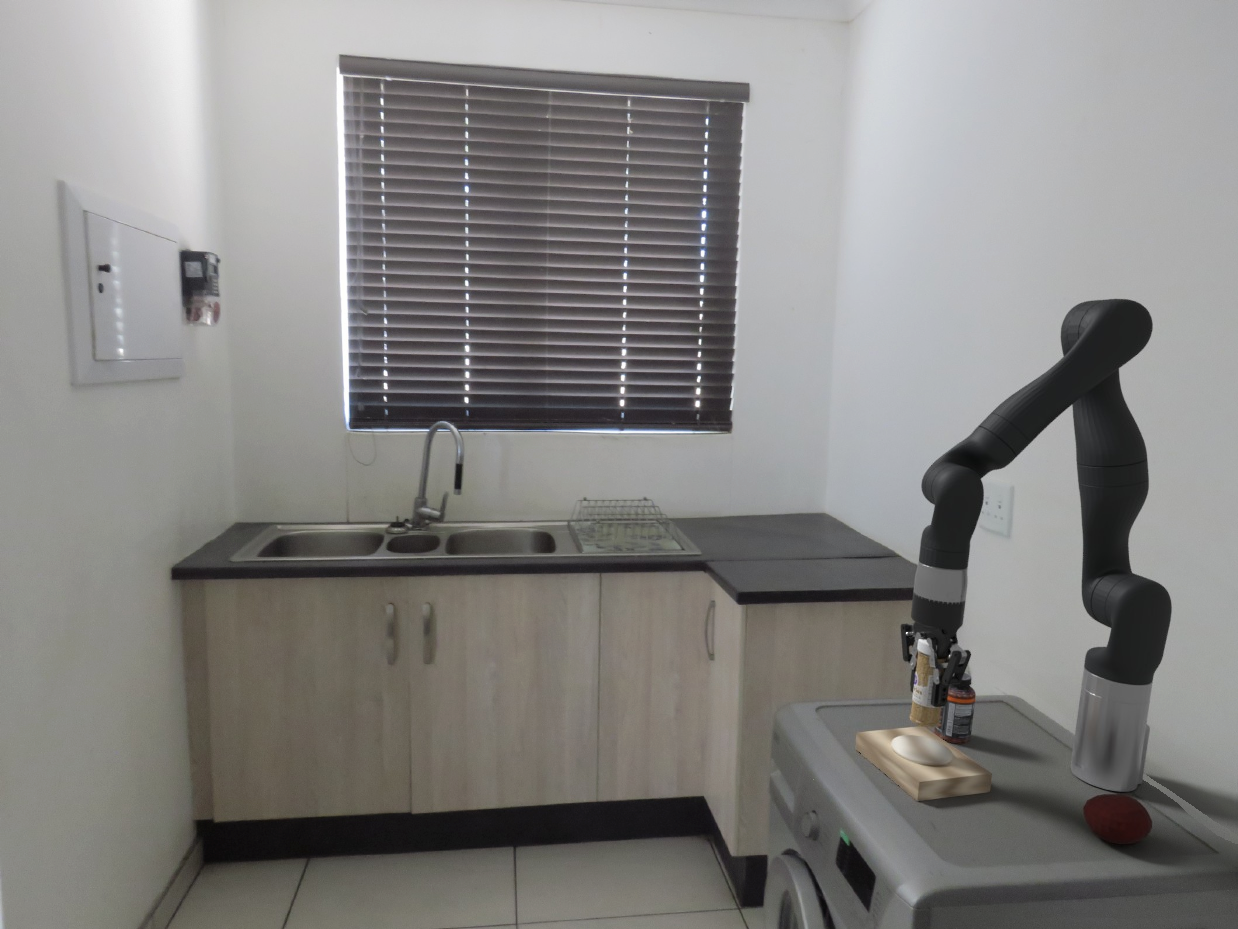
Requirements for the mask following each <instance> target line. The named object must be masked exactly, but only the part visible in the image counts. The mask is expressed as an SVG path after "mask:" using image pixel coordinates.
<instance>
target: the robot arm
mask: <svg viewBox="0 0 1238 929" xmlns="http://www.w3.org/2000/svg"><path fill="white" fill-rule="evenodd" d="M1153 329H1154V328H1153V318H1152V316H1151V313H1150V312H1149V310H1148V309H1147V308H1146V307H1145V306H1144V305H1143V304H1141V303H1140V302H1138V301H1135V300H1132V299H1128V298H1127V299H1126V298H1108V299H1097V300H1095V299H1094V300H1087V301H1083V302H1080V303H1078V304H1076V305H1074V306H1073V307H1072V308H1070V310H1069V311H1068V312H1067V313H1066V315H1065V317H1064V319H1063V320H1062V323H1061V327H1060V344H1061V345H1060V346H1061V350H1062V355H1063V357H1061V359H1060V360H1058V361H1057V362H1056V363H1055V364H1054V365H1052V367H1050V368H1049V369H1048V370H1047V371H1045V372H1044V373H1043V374H1041V375H1039V376H1038V377H1037V378H1035V379H1034V380H1032V381H1031V382H1029V383H1028V384H1026V385H1025V386H1023V387H1022V388H1020V389H1019V390H1017V391H1015V393H1013V394H1011V395H1010V396H1008V398H1006V399H1004V401H1002V402H1001V403H1000V404H999V405H998V406H997V407H995V409H993V411H992V412H990V414H988V416H986V418H985V419H984V420H983V421H982V422H980V423H979V425H978V426H976V428H974V430H973V432H971V434H969V435H968V436H967V437H966V438H964V439H963V440H961V441H960V442H958V443H957V444H955V445H954V446H952V447H951V449H949V450H947V451H946V452H945V453H943V454H942V455H941V456H940V457H938V458H937V459H936V460H935V461H934V462H932V463H931V465H930V466H929V467H928V469H927V470H926V471H925V473H924V474H923V476H922V478H921V479H922V480H921V492H922V494H923V496H924V498H925V499H926V500H927V501H928V502H929V503H930V504H932V505H933V506H934V508H933V512H932V517H931V518H932V519H931V522H930V524H929V525H927V526H925V528H924V529H923V531H922V533H921V538H920V547H919V555H918V562H917V567H916V571H915V574H914V583H913V591H912V592H913V593H912V599H911V600H912V602H911V610H910V617H911V619H912V621H913V623H911V622H910V623H901V624H900V637H901V649H902V659H903V661H904V662H905V663H907V662H908V664H909V665H908V666H909V669H910V670H911V675H910V680H909V681H910V682H909V686H910V689H909V690H910V692H911V693H912V694H913V689H914V681H915V672H916V668H917V659H918V649H917V646H918V640H919V639H927V643H928V644H929V648H930V649H931V653H932V655H931V656H929V661H930V667H931V668H933V676H934V683H933V688H932V697H931V705H932V706H934V707H944V706H945V704H946V703H947V699H948V690H949V685H950V684H960V683H961V680H962V678H963V675H964V673H966V670H967V667H968V665H969V662H970V660H971V657H972V653H971V650H969V649H963V648H962V647H961V646H960V645H959V644H958V643H959V640H958V634H957V632H958V630H959V629H960V628H962V627H963V624H964V618H965V616H964V615H965V610H966V601H967V593H968V591H967V590H968V584H969V582H968V580H969V579H968V577H969V576H968V571H969V570H968V569H969V568H968V567H969V561H970V551H971V540H972V538H973V535H974V533H975V531H976V528H977V525H978V522H979V520H980V516H981V512H982V508H983V505H984V497H985V491H984V490H985V488H984V483H983V481H982V479H983V478H984V477H985V476H987V475H988V474H989V473H990V472H992V471H997V470H1001V469H1003V468H1006V467H1008V466H1009V465H1010V464H1011V463H1012V462H1013V461H1014V460H1015V459H1016V458H1017V457H1018V456H1019V455H1020V454H1021V453H1022V452H1023V451H1024V450H1025V449H1026V448H1027V447H1028V446H1029V445H1031V443H1032V442H1033V441H1035V439H1036V438H1037V437H1038V436H1039V435H1041V433H1042V432H1043V431H1044V430H1045V429H1047V427H1048V426H1049V425H1050V424H1052V423H1053V421H1055V420H1056V419H1057V418H1058V417H1060V415H1061V414H1063V413H1064V412H1065V411H1066V410H1067V409H1068V408H1070V407H1071V406H1072V407H1071V408H1072V419H1073V429H1074V430H1073V431H1074V441H1075V449H1076V450H1075V455H1076V456H1075V457H1076V471H1077V473H1076V474H1077V482H1078V491H1079V499H1080V510H1081V511H1080V514H1081V517H1080V518H1081V527H1082V530H1081V531H1082V562H1081V563H1082V567H1081V599H1082V604H1083V607H1084V610H1085V611H1086V613H1087V614H1088V616H1089V617H1091V619H1093V620H1094V621H1096V622H1097V623H1099V624H1101V625H1103V626H1106V627H1107V628H1110V634H1109V638H1108V641H1107V644H1106V646H1096V647H1095V646H1094V647H1092V648H1089V649H1088V650H1087V651H1086V653H1085V657H1084V663H1083V664H1084V665H1083V673H1082V679H1081V687H1080V688H1081V689H1080V696H1079V701H1078V702H1079V703H1078V709H1077V715H1076V725H1075V730H1074V731H1075V732H1074V738H1073V739H1074V740H1073V745H1072V746H1073V747H1072V754H1071V759H1070V768H1069V769H1070V771H1071V773H1072V774H1073V775H1074V776H1075V777H1076V778H1078V779H1079V780H1081V781H1083V782H1085V783H1086V784H1089V785H1091V786H1094V787H1097V788H1100V789H1103V790H1107V791H1114V792H1119V793H1120V792H1124V793H1125V792H1128V793H1129V792H1133V791H1134V790H1135V791H1136V789H1137V787H1138V785H1141V784H1143V779H1144V773H1145V772H1144V771H1145V766H1146V758H1147V751H1148V744H1149V737H1150V731H1151V728H1150V725H1148V724H1147V723H1148V717H1149V709H1150V703H1151V696H1152V695H1151V694H1152V689H1153V680H1154V675H1155V673H1156V671H1157V670H1158V668H1159V666H1160V664H1161V663H1162V660H1163V658H1164V655H1165V654H1164V652H1165V649H1166V648H1165V647H1166V643H1167V638H1168V635H1169V634H1168V633H1169V630H1170V624H1171V621H1172V611H1173V610H1172V609H1173V607H1172V599H1171V596H1170V593H1169V592H1168V590H1167V588H1166V587H1164V586H1163V585H1162V584H1161V583H1160V582H1157V581H1156V580H1152V579H1151V578H1147V577H1144V576H1142V575H1139V574H1137V573H1134V572H1133V570H1132V568H1131V562H1130V561H1131V560H1130V550H1129V549H1130V548H1129V538H1130V534H1131V531H1132V528H1133V525H1134V523H1135V521H1136V520H1137V518H1138V516H1139V514H1140V512H1141V510H1142V508H1143V506H1144V504H1145V502H1146V499H1147V498H1148V494H1149V489H1150V479H1149V477H1150V476H1149V462H1148V460H1149V459H1148V454H1147V452H1148V451H1147V447H1146V443H1145V440H1144V437H1143V435H1142V432H1141V430H1140V427H1139V426H1138V424H1137V422H1136V420H1135V418H1134V416H1133V414H1132V412H1131V410H1130V408H1129V405H1128V404H1127V401H1126V399H1125V396H1124V394H1123V391H1122V387H1121V386H1122V385H1121V380H1120V369H1121V368H1122V367H1123V366H1124V365H1126V364H1128V362H1130V361H1132V359H1134V358H1135V357H1136V356H1137V355H1139V354H1140V353H1141V352H1142V351H1143V350H1144V349H1145V347H1146V346H1147V345H1148V343H1149V341H1150V339H1151V338H1152V337H1151V336H1152V333H1153ZM936 645H937V649H936ZM910 647H912V648H911V651H910ZM946 658H947V659H946ZM937 659H946V662H944V663H939V662H938V661H937ZM941 668H944V675H943V676H941ZM954 673H955V674H954ZM953 674H954V676H953ZM1139 783H1140V784H1139Z"/></svg>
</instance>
